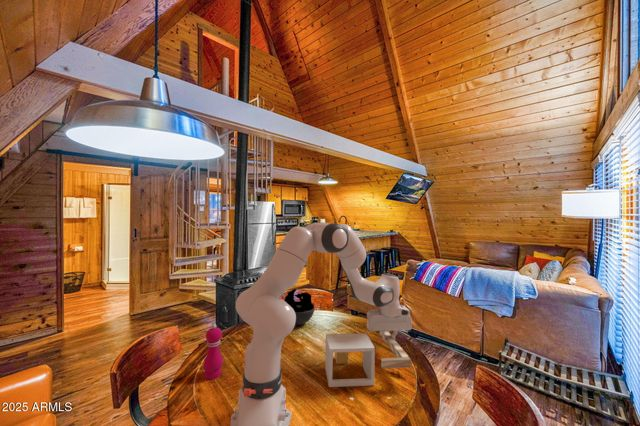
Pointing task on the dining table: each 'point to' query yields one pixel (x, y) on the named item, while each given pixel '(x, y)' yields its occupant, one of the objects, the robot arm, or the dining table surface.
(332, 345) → the cubby
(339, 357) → the ochre cube
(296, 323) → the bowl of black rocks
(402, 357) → the pale grey hook
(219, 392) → the dining table surface
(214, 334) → the pepper mill
